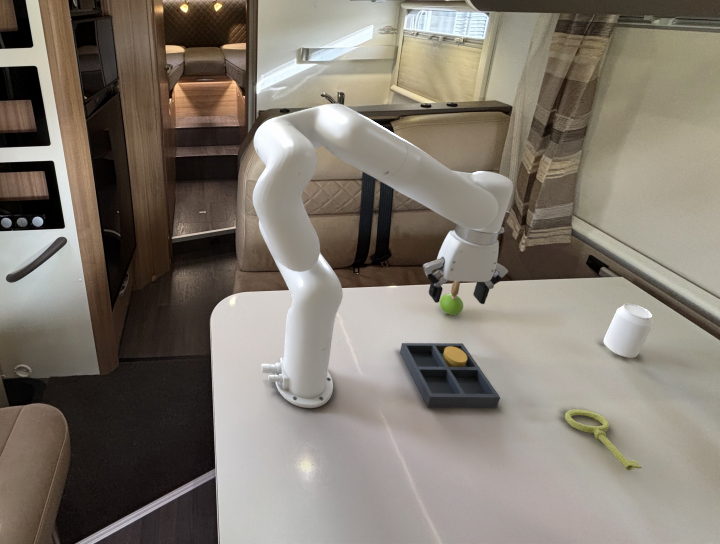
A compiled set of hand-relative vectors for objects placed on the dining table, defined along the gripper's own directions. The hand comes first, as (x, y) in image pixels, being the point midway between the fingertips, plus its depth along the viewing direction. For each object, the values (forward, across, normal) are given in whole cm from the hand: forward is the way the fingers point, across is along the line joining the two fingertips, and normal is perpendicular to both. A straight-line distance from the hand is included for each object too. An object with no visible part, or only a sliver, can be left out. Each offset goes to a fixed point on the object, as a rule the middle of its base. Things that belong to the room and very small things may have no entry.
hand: (456, 299), depth 93 cm
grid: (+18, 0, +4) cm, 19 cm away
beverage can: (+18, -46, -5) cm, 49 cm away
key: (+18, -23, +18) cm, 34 cm away
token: (+18, -3, +1) cm, 18 cm away
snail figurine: (+18, -11, -17) cm, 28 cm away
